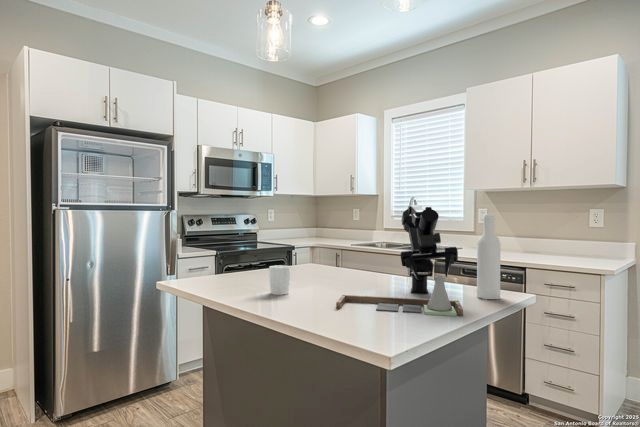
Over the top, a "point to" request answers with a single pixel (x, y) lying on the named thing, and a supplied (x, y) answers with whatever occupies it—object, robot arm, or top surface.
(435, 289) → the flask
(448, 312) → the pad
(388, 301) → the box
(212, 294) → the top surface
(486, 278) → the bottle
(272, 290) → the white cup
